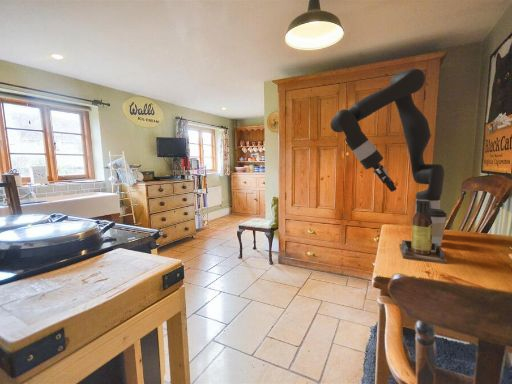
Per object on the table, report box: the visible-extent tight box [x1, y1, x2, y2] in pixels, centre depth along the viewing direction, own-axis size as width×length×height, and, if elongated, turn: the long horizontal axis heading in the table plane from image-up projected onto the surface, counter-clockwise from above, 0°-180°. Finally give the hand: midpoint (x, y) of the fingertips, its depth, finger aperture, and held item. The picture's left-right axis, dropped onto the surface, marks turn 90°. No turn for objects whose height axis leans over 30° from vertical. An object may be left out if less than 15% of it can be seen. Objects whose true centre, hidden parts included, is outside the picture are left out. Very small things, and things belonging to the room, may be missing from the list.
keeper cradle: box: [398, 239, 448, 265], centre depth 94 cm, size 14×13×8 cm
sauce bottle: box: [411, 199, 432, 255], centre depth 92 cm, size 6×6×20 cm
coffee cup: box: [429, 208, 447, 247], centre depth 104 cm, size 9×9×15 cm
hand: (393, 187), depth 96 cm, fingers open, 8 cm apart
